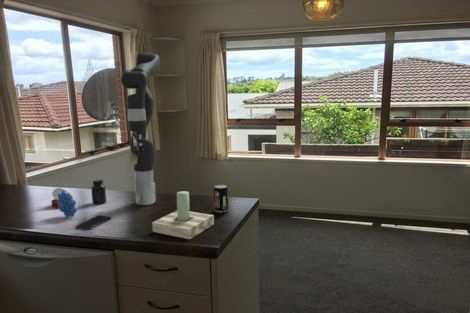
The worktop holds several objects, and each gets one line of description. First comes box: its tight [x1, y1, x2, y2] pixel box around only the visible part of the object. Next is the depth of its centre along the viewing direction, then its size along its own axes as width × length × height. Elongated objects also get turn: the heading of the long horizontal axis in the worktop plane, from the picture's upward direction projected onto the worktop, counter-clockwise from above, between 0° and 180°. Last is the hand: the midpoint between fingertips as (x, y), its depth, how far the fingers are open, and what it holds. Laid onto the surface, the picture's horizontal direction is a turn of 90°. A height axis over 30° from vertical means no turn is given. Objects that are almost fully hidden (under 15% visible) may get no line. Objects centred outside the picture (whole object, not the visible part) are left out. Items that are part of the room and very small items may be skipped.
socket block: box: [152, 210, 215, 240], centre depth 149 cm, size 18×18×4 cm
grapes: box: [57, 190, 78, 218], centre depth 164 cm, size 12×7×12 cm, turn 62°
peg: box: [176, 190, 191, 222], centre depth 149 cm, size 5×5×15 cm
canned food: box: [50, 187, 74, 209], centre depth 184 cm, size 11×10×10 cm
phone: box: [75, 215, 112, 231], centre depth 157 cm, size 8×1×15 cm
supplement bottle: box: [90, 178, 107, 205], centre depth 186 cm, size 7×7×12 cm
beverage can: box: [213, 184, 229, 214], centre depth 170 cm, size 7×7×12 cm
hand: (139, 157), depth 156 cm, fingers open, 8 cm apart
